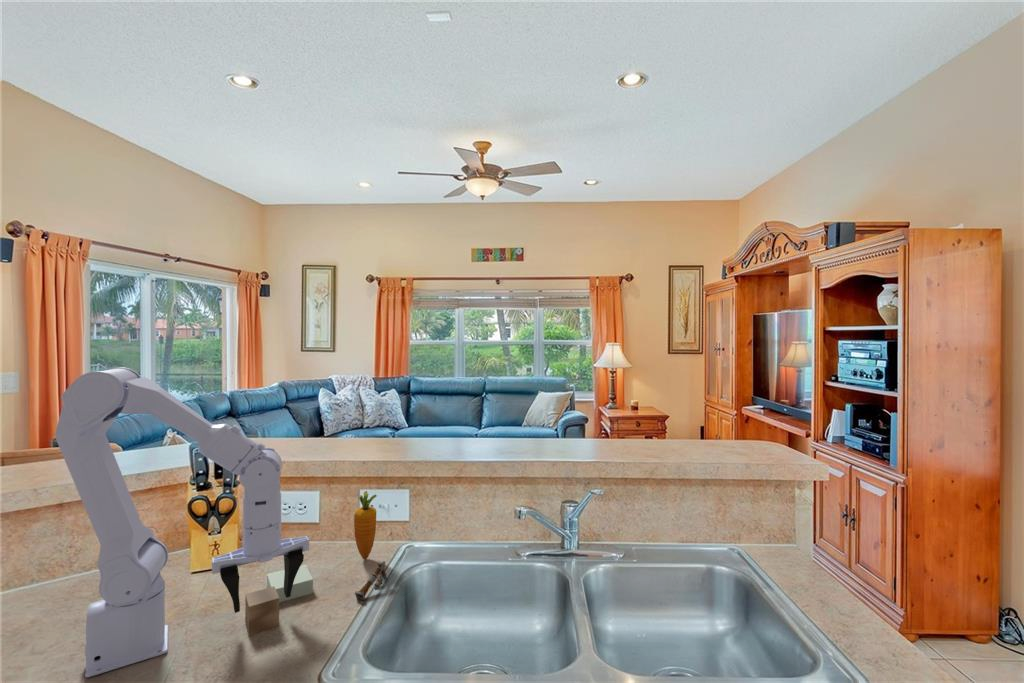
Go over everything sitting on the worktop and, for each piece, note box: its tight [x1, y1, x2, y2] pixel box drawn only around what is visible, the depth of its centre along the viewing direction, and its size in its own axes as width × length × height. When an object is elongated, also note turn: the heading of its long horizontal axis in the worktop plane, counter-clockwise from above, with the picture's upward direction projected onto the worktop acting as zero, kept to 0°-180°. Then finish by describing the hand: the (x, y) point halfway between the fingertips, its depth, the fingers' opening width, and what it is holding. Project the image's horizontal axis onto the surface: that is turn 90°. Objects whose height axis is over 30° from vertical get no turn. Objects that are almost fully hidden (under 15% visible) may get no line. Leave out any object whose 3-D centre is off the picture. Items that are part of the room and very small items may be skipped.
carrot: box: [353, 490, 377, 561], centre depth 103 cm, size 5×5×15 cm
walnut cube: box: [244, 586, 280, 637], centre depth 80 cm, size 4×4×5 cm
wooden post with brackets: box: [354, 560, 389, 602], centre depth 91 cm, size 2×8×4 cm, turn 157°
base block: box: [266, 564, 314, 604], centre depth 91 cm, size 7×7×3 cm
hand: (262, 601), depth 80 cm, fingers open, 7 cm apart
